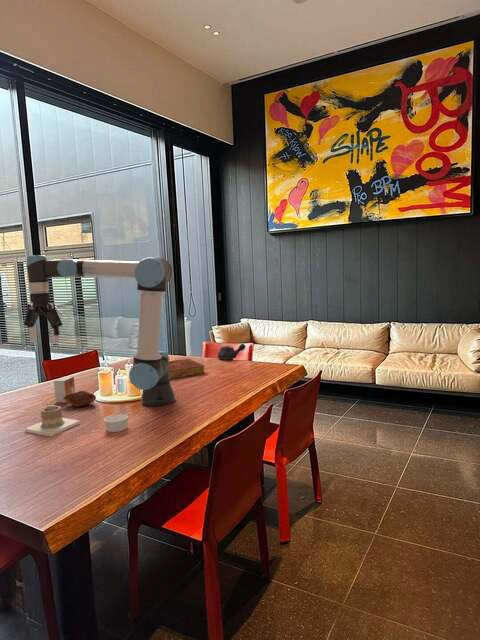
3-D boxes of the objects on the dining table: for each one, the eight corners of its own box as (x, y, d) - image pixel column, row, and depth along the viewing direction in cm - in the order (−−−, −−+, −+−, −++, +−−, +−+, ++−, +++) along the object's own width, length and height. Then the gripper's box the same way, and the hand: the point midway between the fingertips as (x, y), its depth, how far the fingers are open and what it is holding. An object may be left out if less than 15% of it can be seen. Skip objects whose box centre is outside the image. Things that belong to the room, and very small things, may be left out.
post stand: (80, 423, 170) (78, 402, 169) (50, 436, 158) (48, 413, 157) (55, 419, 177) (53, 398, 176) (25, 431, 164) (22, 409, 163)
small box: (66, 403, 198) (64, 380, 197) (55, 402, 199) (53, 380, 198) (76, 397, 206) (74, 376, 205) (65, 397, 207) (63, 376, 206)
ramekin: (109, 424, 168) (108, 414, 168) (131, 424, 168) (130, 413, 167) (101, 433, 159) (100, 422, 159) (124, 433, 159) (123, 421, 158)
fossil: (101, 396, 195) (86, 381, 191) (92, 409, 188) (77, 394, 184) (82, 403, 200) (67, 388, 196) (73, 416, 194) (58, 401, 190)
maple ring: (66, 421, 169) (65, 406, 168) (51, 428, 162) (50, 412, 162) (53, 419, 172) (52, 405, 171) (38, 425, 165) (37, 410, 165)
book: (189, 366, 264) (188, 358, 263) (205, 374, 243) (204, 365, 242) (141, 373, 250) (141, 365, 249) (154, 382, 229) (153, 373, 228)
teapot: (215, 361, 271) (214, 346, 270) (219, 356, 286) (218, 341, 285) (244, 361, 269) (244, 345, 267) (247, 356, 284) (246, 341, 283)
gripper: (68, 291, 177) (72, 342, 180) (27, 292, 188) (32, 339, 191) (53, 292, 171) (58, 345, 173) (11, 293, 181) (17, 342, 184)
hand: (44, 342), depth 182 cm, fingers open, 13 cm apart
